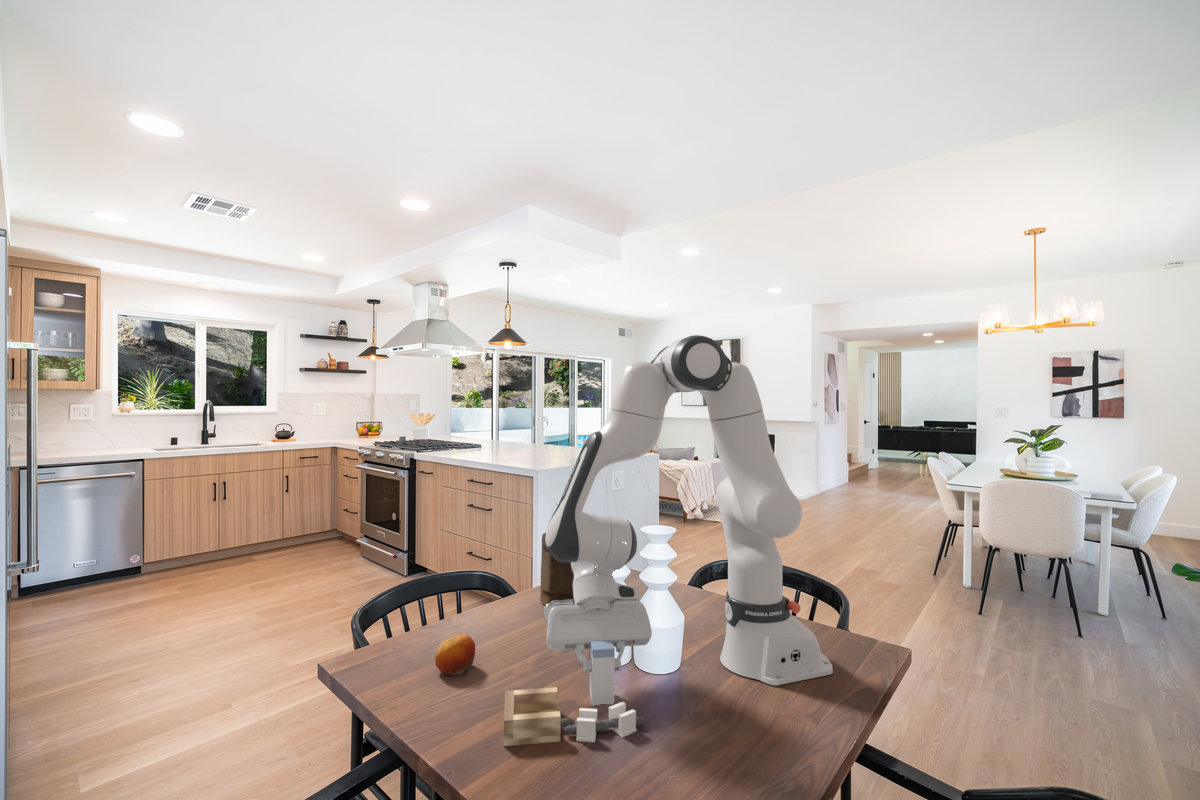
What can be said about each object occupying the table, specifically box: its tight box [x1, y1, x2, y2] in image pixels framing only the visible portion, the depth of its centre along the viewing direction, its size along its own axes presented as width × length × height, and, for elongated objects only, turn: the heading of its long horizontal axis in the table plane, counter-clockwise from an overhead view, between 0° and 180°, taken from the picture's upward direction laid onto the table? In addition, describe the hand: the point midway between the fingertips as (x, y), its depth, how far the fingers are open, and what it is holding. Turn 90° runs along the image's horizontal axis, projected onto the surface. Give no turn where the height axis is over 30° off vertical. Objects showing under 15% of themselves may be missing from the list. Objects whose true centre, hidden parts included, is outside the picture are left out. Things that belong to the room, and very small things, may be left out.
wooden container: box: [540, 532, 574, 606], centre depth 149 cm, size 15×15×22 cm
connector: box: [589, 640, 616, 706], centre depth 99 cm, size 4×4×10 cm
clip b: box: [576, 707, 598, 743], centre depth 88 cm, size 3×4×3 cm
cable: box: [560, 716, 646, 735], centre depth 89 cm, size 16×3×1 cm, turn 98°
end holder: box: [503, 686, 562, 747], centre depth 90 cm, size 9×9×4 cm
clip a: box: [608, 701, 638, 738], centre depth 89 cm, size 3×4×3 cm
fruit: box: [434, 633, 476, 676], centre depth 109 cm, size 8×8×8 cm
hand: (602, 670), depth 98 cm, fingers closed on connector, 4 cm apart
